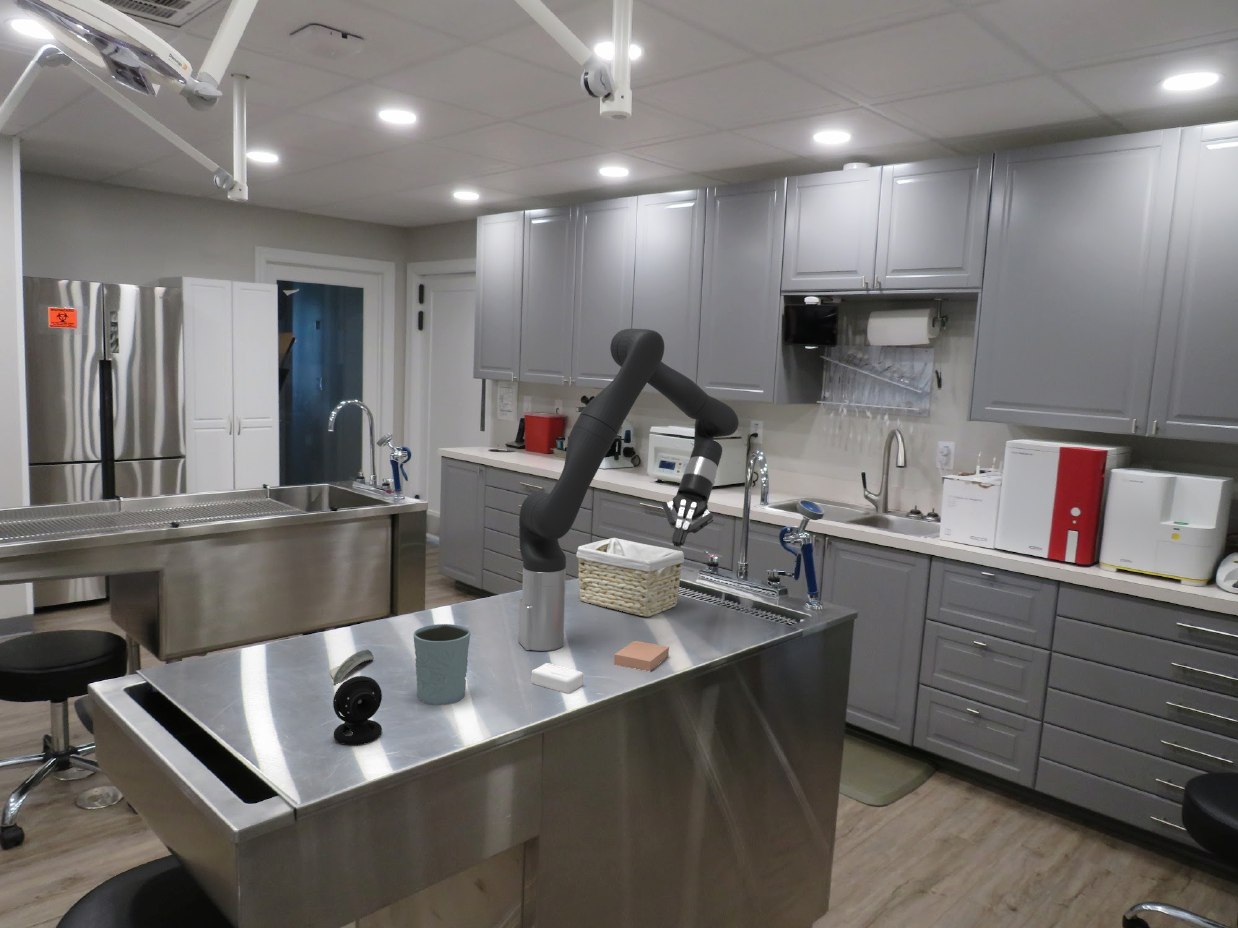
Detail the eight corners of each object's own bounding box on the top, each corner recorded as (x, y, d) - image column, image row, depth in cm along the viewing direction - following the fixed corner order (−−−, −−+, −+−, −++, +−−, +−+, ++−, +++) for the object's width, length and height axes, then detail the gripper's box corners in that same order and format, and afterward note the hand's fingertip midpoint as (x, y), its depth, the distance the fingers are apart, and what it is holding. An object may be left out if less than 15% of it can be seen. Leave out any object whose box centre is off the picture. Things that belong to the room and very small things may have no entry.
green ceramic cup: (414, 708, 146) (414, 642, 145) (411, 686, 156) (412, 624, 154) (472, 703, 149) (473, 639, 148) (466, 682, 159) (467, 621, 157)
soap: (584, 686, 160) (584, 671, 159) (568, 695, 155) (568, 680, 155) (546, 675, 164) (546, 661, 164) (529, 684, 160) (529, 669, 159)
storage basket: (572, 601, 214) (573, 545, 212) (610, 588, 227) (612, 535, 225) (647, 621, 200) (650, 561, 198) (684, 607, 213) (687, 550, 211)
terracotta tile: (634, 640, 180) (614, 654, 171) (668, 646, 176) (650, 661, 167) (634, 651, 180) (614, 666, 171) (668, 658, 176) (649, 673, 167)
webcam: (341, 750, 130) (340, 689, 129) (326, 732, 136) (326, 673, 135) (389, 738, 135) (389, 679, 133) (373, 721, 141) (373, 664, 139)
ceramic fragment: (336, 687, 155) (336, 667, 155) (312, 683, 156) (312, 663, 156) (376, 663, 168) (376, 644, 168) (354, 659, 170) (354, 641, 169)
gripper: (669, 466, 195) (647, 531, 188) (724, 479, 192) (703, 545, 184) (672, 481, 202) (651, 544, 195) (725, 493, 198) (705, 558, 191)
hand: (676, 545), depth 190 cm, fingers closed
